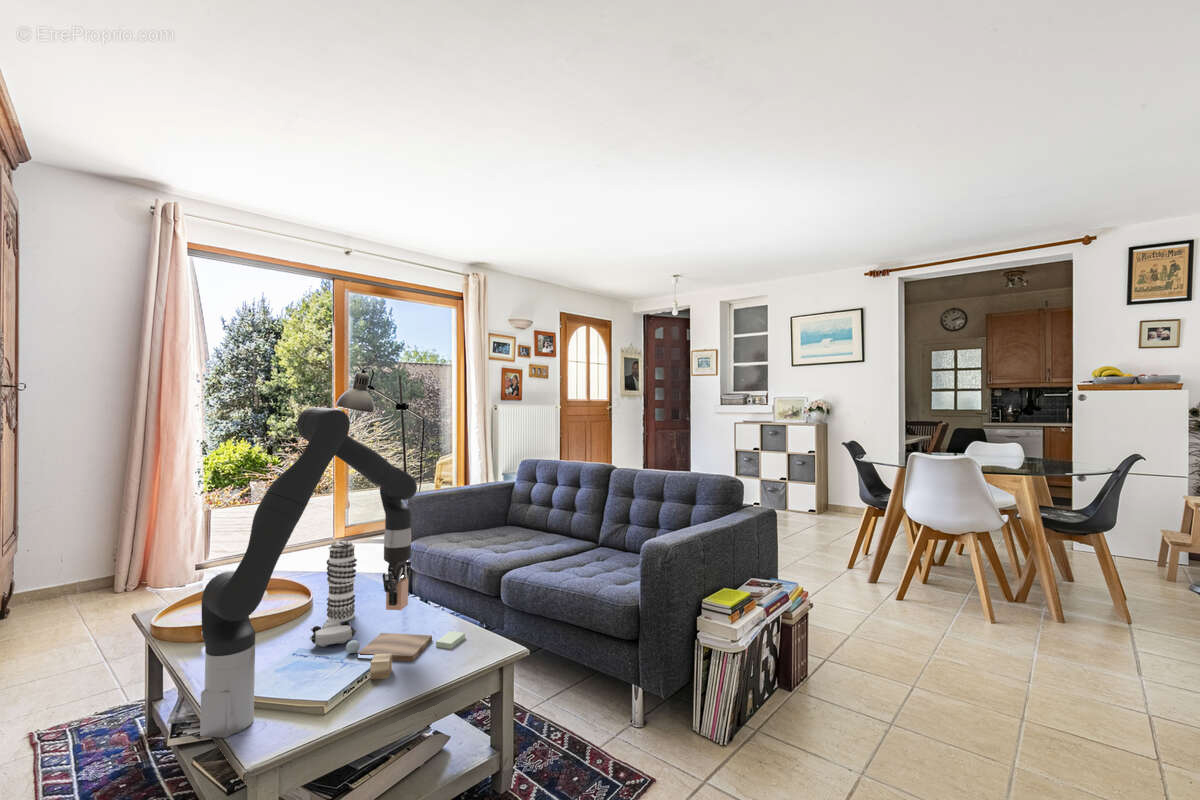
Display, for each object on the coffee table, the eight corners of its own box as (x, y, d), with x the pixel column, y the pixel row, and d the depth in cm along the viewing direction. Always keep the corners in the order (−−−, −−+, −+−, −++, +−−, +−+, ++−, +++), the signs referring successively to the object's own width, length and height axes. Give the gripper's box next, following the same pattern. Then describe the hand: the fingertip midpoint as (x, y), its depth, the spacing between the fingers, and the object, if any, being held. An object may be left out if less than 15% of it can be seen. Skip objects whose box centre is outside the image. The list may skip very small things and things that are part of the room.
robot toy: (308, 638, 171) (310, 653, 158) (308, 623, 171) (310, 637, 158) (351, 630, 177) (357, 644, 164) (352, 616, 177) (357, 629, 164)
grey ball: (355, 656, 156) (355, 643, 157) (343, 655, 157) (343, 643, 157) (362, 650, 160) (362, 638, 160) (350, 650, 160) (350, 637, 160)
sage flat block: (450, 650, 162) (451, 643, 162) (435, 648, 164) (436, 641, 164) (464, 639, 170) (465, 633, 170) (450, 637, 171) (450, 630, 171)
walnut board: (412, 661, 154) (412, 656, 154) (357, 658, 155) (357, 653, 155) (431, 640, 168) (432, 635, 168) (381, 637, 169) (381, 632, 169)
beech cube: (388, 678, 144) (388, 661, 145) (370, 679, 144) (370, 662, 144) (391, 670, 149) (392, 653, 149) (374, 671, 148) (374, 654, 148)
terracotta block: (401, 610, 159) (401, 582, 159) (386, 609, 160) (386, 581, 160) (407, 604, 164) (408, 577, 164) (393, 604, 164) (393, 577, 164)
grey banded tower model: (345, 623, 180) (346, 546, 180) (319, 621, 181) (320, 545, 181) (361, 613, 189) (362, 539, 189) (336, 611, 190) (338, 538, 190)
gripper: (399, 550, 154) (398, 611, 154) (420, 537, 169) (419, 594, 168) (373, 549, 155) (372, 610, 155) (396, 537, 169) (395, 593, 169)
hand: (396, 601), depth 162 cm, fingers closed on terracotta block, 4 cm apart
